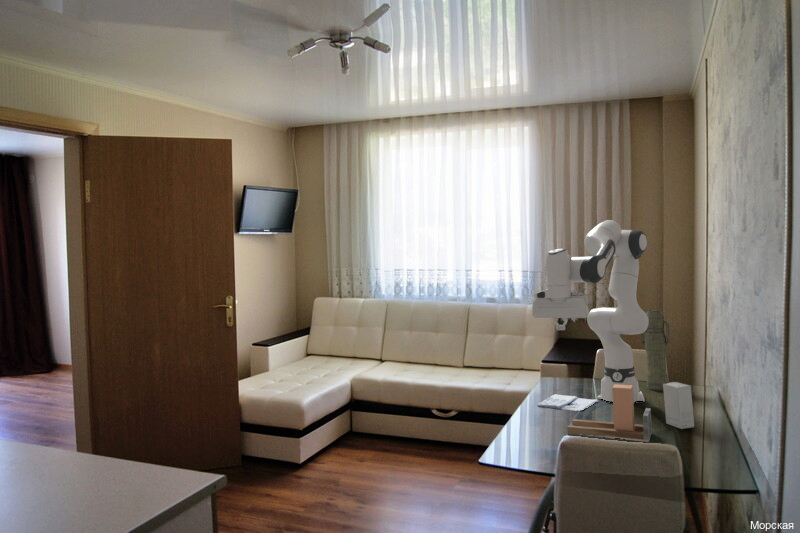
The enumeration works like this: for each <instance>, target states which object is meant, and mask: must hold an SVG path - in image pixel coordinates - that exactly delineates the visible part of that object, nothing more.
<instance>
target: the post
mask: <svg viewBox="0 0 800 533" xmlns="http://www.w3.org/2000/svg"><path fill="white" fill-rule="evenodd" d="M612 391H613V403H612V409H613V413H612V414H613V422H614V429H617V430H628V431H635V405H634V404H635V403H634V400H633V385H619V384H614V386H613V387H612Z"/></svg>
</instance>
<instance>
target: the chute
mask: <svg viewBox="0 0 800 533" xmlns="http://www.w3.org/2000/svg"><path fill="white" fill-rule="evenodd" d="M651 410H652V409H651V408H649V407H645V410H644V412H643V415H642V424H639V423H638V424H637V423H636V424H635V431H628V430H617V429H614V421H603V420H602V421H599V420H588V419H579V418H578V419H577V418H576V419H575V418H572V421H571V422H572V425H570V424H569V425H567V426H566V428H567V429H566V430H567V435H570V436H571V435H573V434H582V435H593V436H600V437H599V438H603V437H605V438H606V439H612V440H613V439H615V438H620V439H619V440H623V439H625V441H626V440H627V441H636V442H637V441H638V442H646V443H649V442H650V438H651V437H652V436H651V435H652V434H653V433H652V432H653V431H652V411H651ZM582 435H581V436H582ZM615 440H616V439H615Z"/></svg>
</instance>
